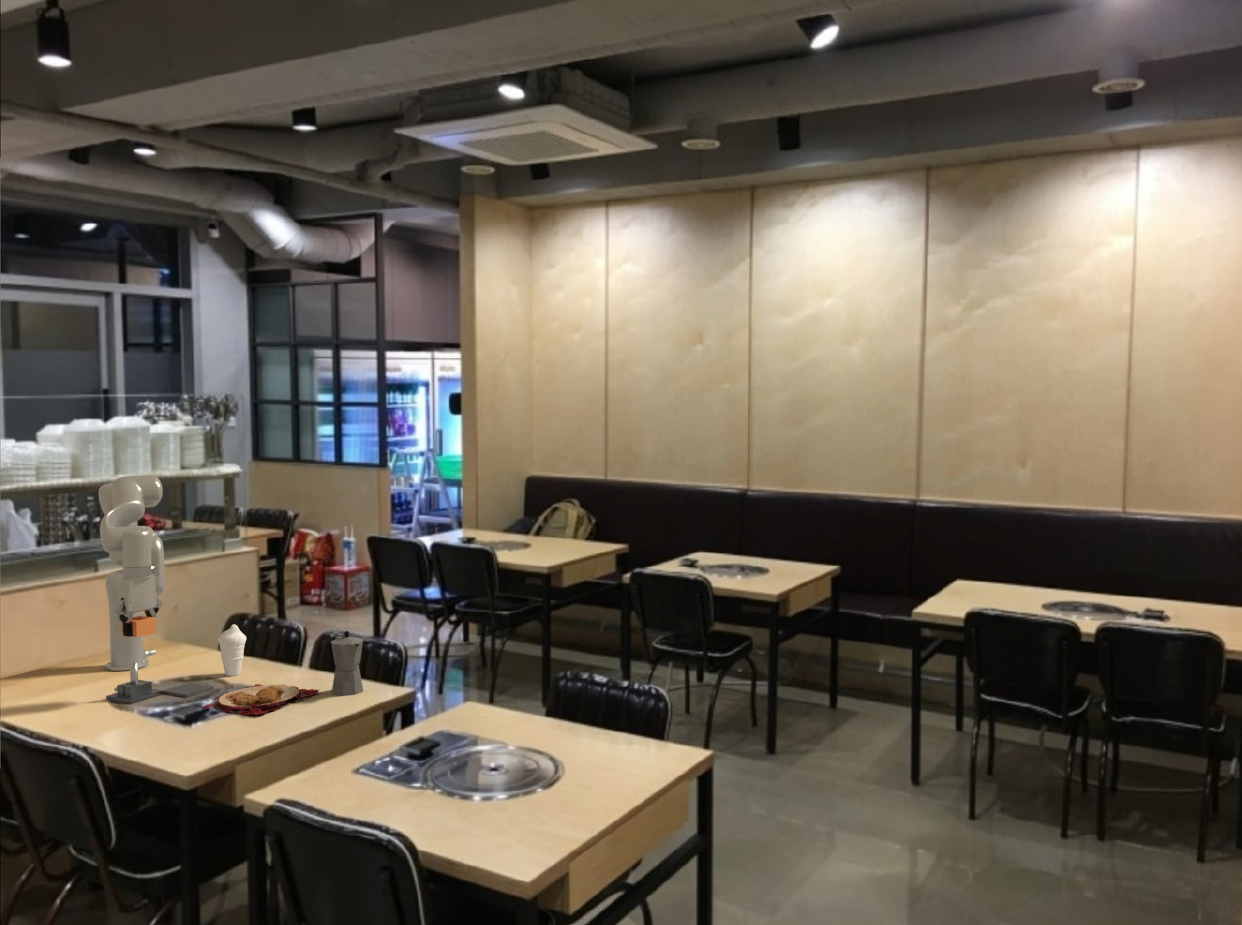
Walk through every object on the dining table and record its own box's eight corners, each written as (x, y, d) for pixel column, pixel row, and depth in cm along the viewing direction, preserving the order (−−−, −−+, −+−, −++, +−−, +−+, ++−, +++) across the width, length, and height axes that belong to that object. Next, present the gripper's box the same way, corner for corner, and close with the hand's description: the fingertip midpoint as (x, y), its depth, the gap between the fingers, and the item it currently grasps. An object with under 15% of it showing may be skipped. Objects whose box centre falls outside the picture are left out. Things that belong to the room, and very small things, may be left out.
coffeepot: (373, 692, 294) (372, 632, 293) (344, 699, 287) (343, 637, 287) (347, 682, 305) (346, 624, 304) (318, 688, 298) (317, 628, 298)
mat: (189, 685, 302) (189, 682, 302) (213, 688, 298) (213, 686, 298) (161, 693, 293) (161, 690, 293) (186, 697, 289) (186, 694, 289)
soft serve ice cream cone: (212, 676, 312) (211, 625, 312) (230, 670, 320) (229, 620, 320) (235, 678, 310) (234, 627, 309) (252, 672, 318) (251, 622, 317)
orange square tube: (140, 630, 294) (140, 615, 293) (155, 632, 291) (155, 617, 291) (121, 635, 288) (121, 619, 288) (136, 637, 285) (136, 621, 285)
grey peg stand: (138, 690, 297) (138, 657, 296) (162, 694, 292) (162, 660, 292) (106, 699, 287) (105, 665, 286) (130, 704, 282) (129, 669, 282)
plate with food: (320, 696, 293) (320, 684, 293) (258, 718, 270) (258, 705, 269) (256, 689, 302) (256, 677, 302) (191, 710, 279) (190, 697, 278)
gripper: (154, 567, 298) (155, 626, 299) (101, 575, 282) (103, 638, 283) (171, 568, 295) (173, 629, 295) (119, 577, 279) (121, 641, 280)
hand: (138, 633), depth 289 cm, fingers closed on orange square tube, 6 cm apart
